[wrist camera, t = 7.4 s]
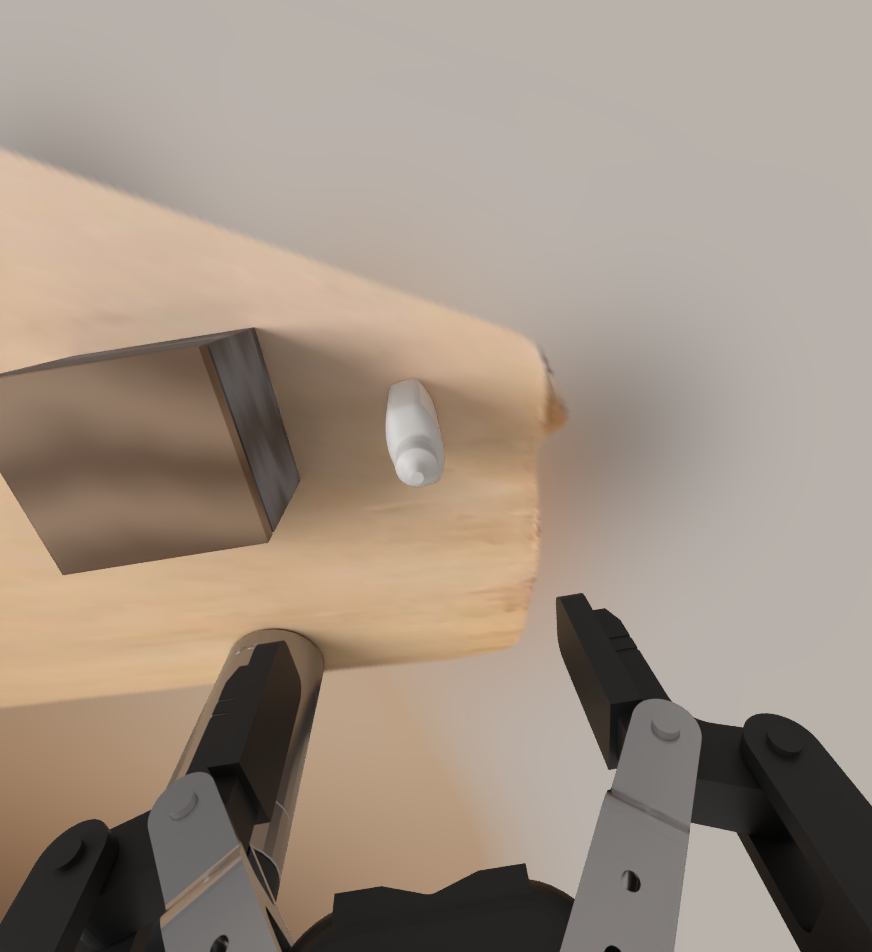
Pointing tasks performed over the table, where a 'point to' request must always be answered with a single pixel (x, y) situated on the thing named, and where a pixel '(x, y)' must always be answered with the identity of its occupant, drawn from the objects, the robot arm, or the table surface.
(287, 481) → the box
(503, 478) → the table surface
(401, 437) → the eye dropper bottle
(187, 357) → the lid
